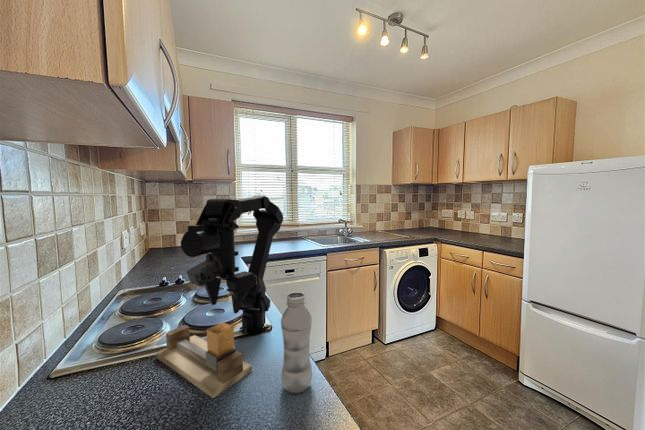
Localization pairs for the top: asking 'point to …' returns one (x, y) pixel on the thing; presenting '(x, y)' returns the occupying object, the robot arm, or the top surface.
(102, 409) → the top surface
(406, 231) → the top surface
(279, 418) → the top surface
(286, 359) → the plastic bottle
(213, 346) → the slider block
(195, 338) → the rail board
